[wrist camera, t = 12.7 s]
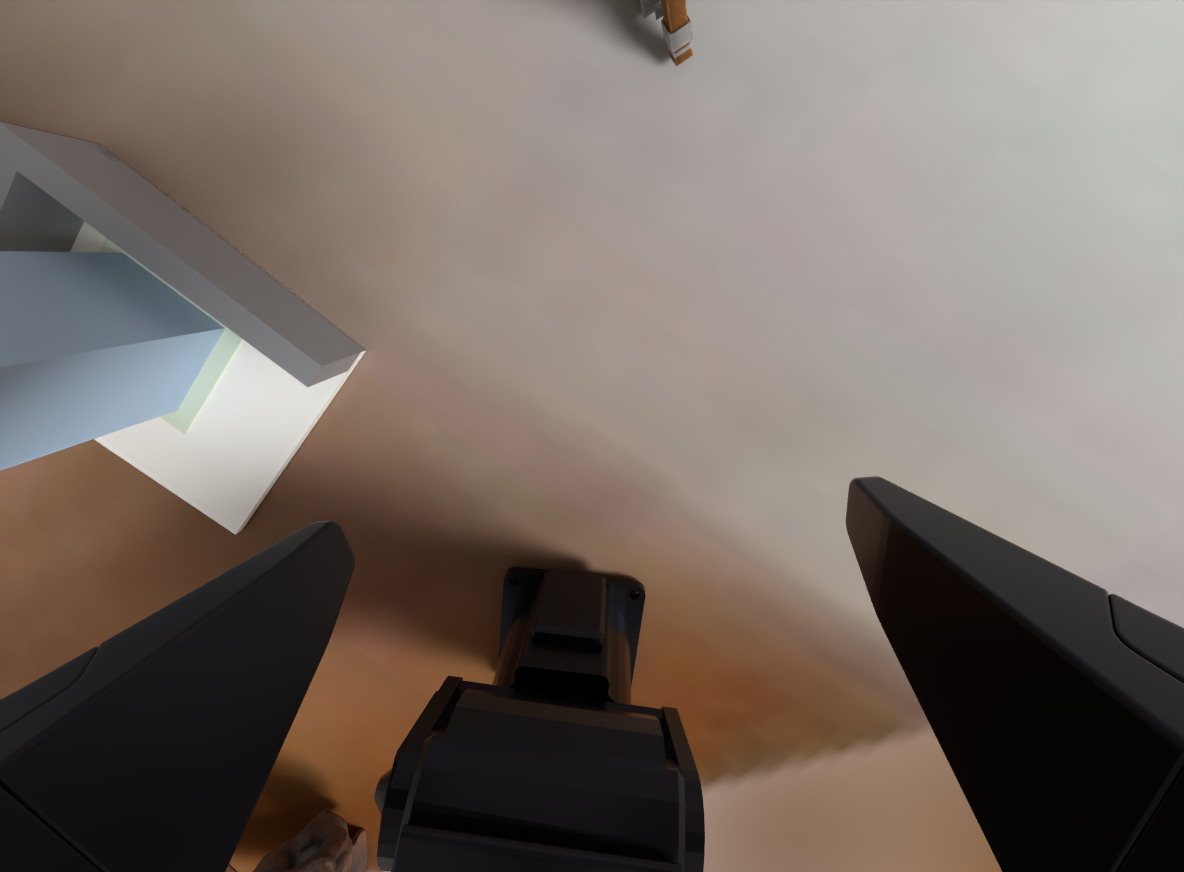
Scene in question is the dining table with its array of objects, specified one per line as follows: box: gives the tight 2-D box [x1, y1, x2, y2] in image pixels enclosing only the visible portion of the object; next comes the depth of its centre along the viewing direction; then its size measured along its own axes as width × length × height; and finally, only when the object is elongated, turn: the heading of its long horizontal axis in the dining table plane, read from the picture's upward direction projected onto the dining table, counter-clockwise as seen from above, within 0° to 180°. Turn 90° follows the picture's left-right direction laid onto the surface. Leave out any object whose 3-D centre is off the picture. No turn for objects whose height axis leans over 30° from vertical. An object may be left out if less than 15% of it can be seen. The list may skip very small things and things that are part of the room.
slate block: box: [0, 251, 225, 471], centre depth 17 cm, size 5×4×11 cm
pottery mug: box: [226, 809, 369, 872], centre depth 29 cm, size 12×10×8 cm
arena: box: [0, 122, 366, 535], centre depth 21 cm, size 12×11×4 cm
